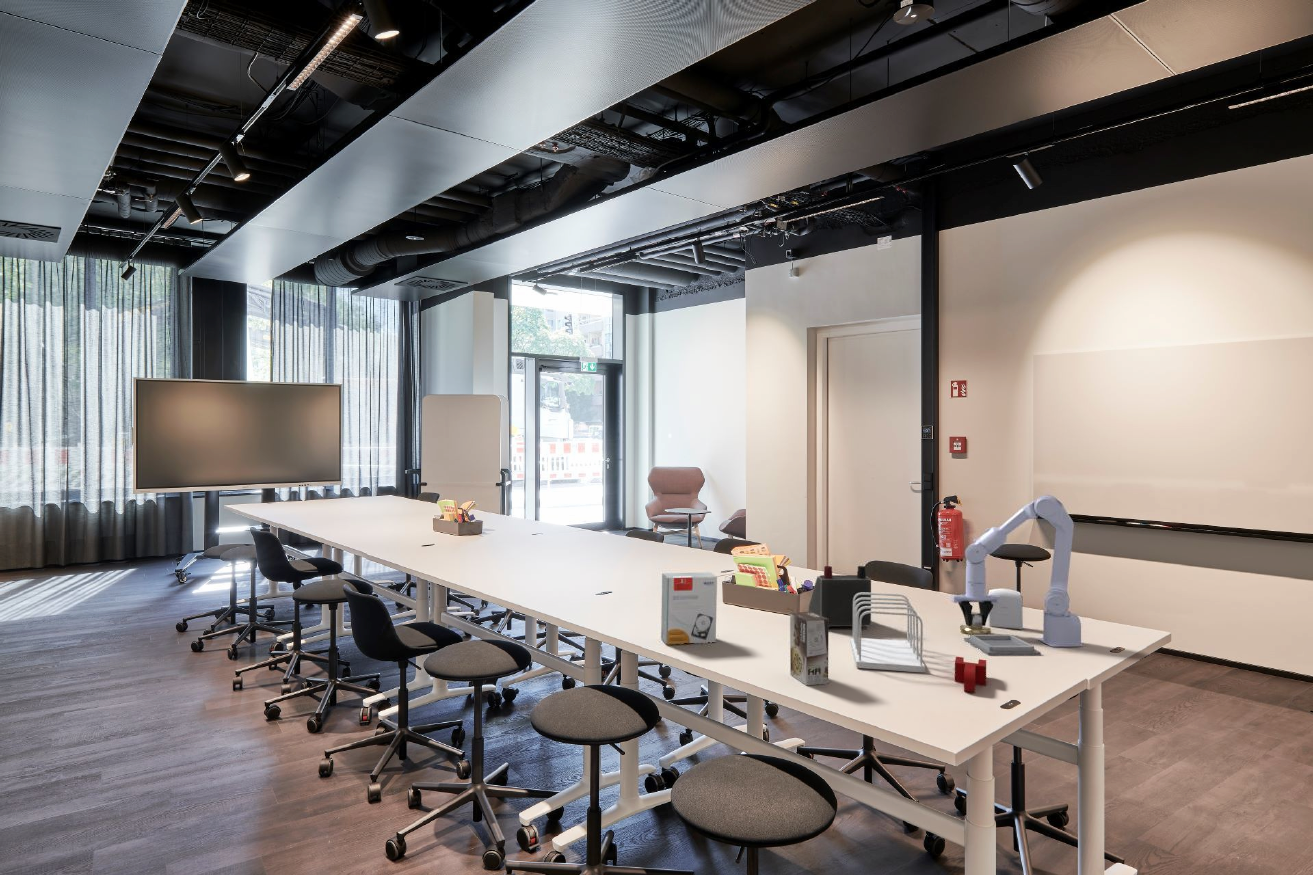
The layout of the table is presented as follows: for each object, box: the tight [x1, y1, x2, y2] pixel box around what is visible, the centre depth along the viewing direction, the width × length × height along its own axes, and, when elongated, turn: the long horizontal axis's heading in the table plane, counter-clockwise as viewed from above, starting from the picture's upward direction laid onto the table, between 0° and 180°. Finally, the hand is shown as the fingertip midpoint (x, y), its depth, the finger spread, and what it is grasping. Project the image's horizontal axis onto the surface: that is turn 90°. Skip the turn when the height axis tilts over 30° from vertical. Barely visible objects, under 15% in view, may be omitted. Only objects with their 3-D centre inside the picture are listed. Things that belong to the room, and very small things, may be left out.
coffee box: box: [789, 610, 830, 686], centre depth 183 cm, size 9×6×16 cm
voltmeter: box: [808, 565, 872, 630], centre depth 239 cm, size 16×16×20 cm
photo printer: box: [987, 588, 1024, 630], centre depth 235 cm, size 10×4×12 cm, turn 63°
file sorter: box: [849, 592, 926, 674], centre depth 202 cm, size 25×17×16 cm
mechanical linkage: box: [954, 656, 987, 694], centre depth 181 cm, size 16×7×5 cm, turn 155°
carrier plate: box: [963, 634, 1042, 656], centre depth 212 cm, size 15×15×2 cm
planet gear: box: [959, 611, 992, 636], centre depth 228 cm, size 9×9×6 cm
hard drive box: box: [660, 571, 718, 645], centre depth 218 cm, size 16×8×20 cm, turn 102°
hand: (975, 625), depth 228 cm, fingers closed on planet gear, 4 cm apart
